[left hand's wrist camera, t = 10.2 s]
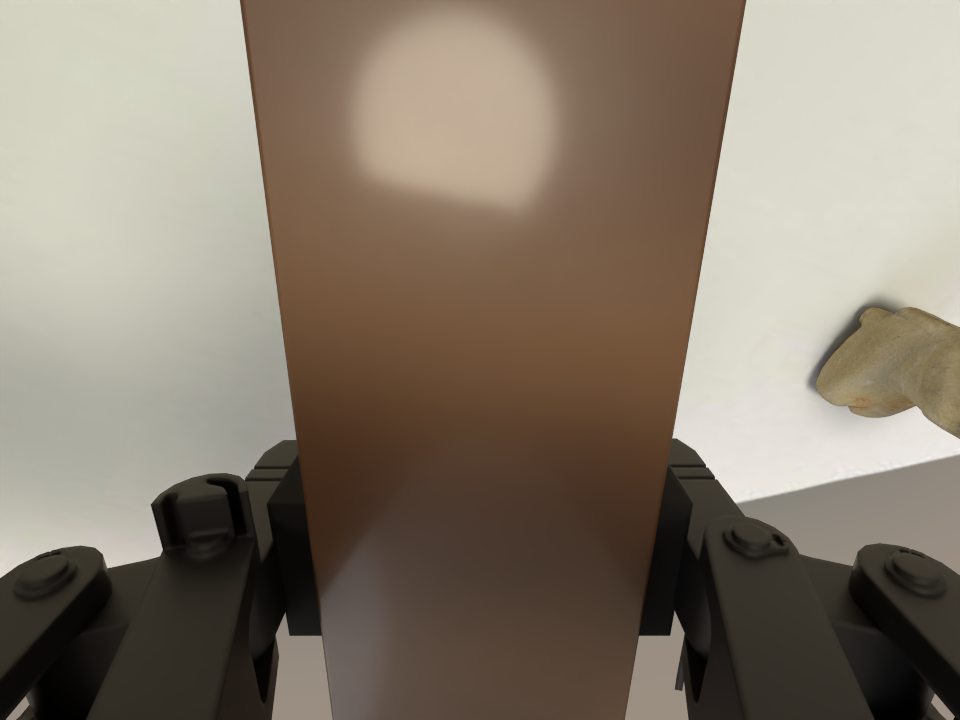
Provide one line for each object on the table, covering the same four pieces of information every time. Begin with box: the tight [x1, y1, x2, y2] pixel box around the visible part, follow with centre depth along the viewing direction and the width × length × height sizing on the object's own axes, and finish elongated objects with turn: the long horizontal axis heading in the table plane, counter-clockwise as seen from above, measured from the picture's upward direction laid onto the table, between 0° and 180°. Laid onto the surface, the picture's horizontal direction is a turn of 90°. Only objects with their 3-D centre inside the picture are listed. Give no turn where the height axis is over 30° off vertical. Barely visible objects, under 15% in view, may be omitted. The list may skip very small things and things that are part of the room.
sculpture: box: [816, 307, 960, 439], centre depth 26 cm, size 6×7×15 cm
